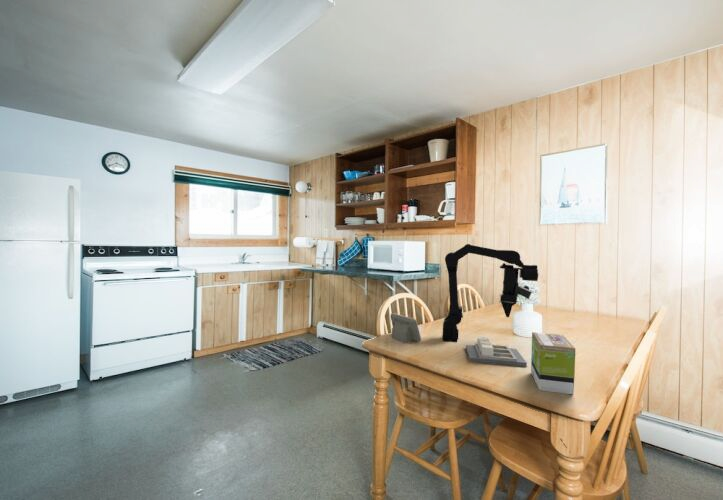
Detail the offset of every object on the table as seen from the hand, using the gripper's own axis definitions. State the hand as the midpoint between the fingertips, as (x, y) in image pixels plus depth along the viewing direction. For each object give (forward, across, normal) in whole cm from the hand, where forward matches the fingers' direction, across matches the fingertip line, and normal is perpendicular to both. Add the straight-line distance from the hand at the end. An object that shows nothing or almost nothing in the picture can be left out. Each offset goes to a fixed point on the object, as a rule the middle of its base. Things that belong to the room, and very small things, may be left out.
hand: (508, 315), depth 152 cm
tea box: (+14, -35, -15) cm, 41 cm away
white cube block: (+12, -19, +7) cm, 24 cm away
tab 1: (+12, -14, +8) cm, 20 cm away
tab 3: (+12, -24, +6) cm, 27 cm away
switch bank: (+14, -18, +4) cm, 23 cm away
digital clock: (+15, -13, +42) cm, 46 cm away
